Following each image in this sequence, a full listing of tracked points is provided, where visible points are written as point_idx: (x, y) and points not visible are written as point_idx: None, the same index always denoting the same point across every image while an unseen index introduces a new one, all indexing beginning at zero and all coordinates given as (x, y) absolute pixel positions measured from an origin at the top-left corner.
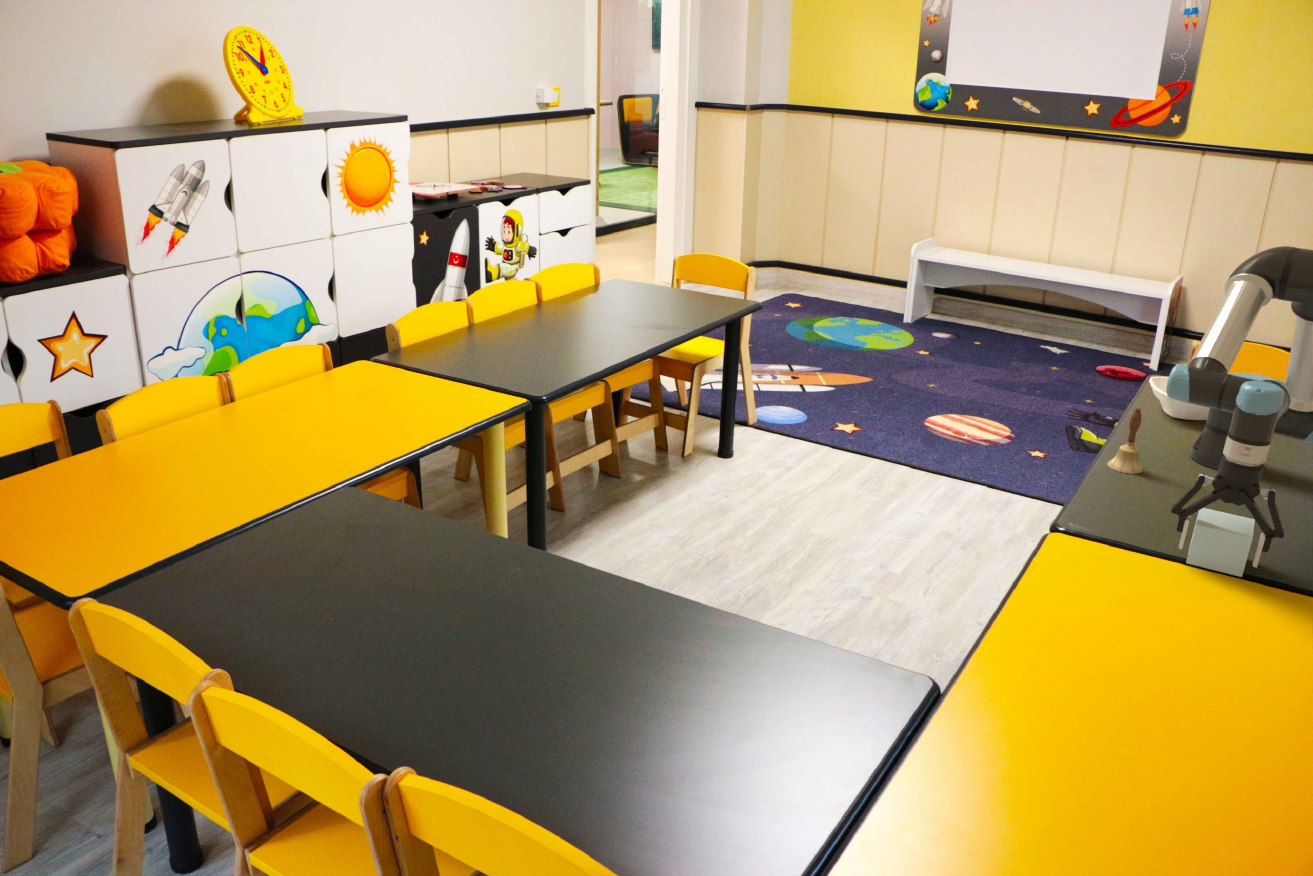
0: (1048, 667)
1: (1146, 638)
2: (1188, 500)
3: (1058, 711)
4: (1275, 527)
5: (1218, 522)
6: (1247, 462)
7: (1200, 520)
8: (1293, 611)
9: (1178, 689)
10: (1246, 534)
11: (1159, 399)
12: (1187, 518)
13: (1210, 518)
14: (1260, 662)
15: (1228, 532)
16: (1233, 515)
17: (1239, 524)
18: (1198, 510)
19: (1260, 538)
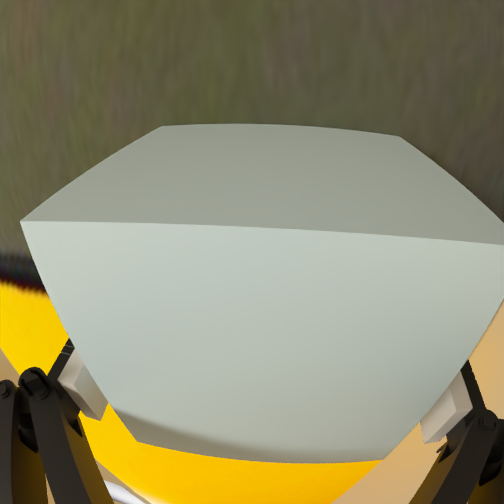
0: (155, 484)
1: (203, 473)
2: (45, 496)
3: (182, 499)
4: (474, 490)
5: (219, 417)
6: None
7: (130, 416)
8: None
9: (246, 495)
10: (363, 454)
11: None
12: (80, 404)
13: (160, 388)
14: (325, 476)
15: (279, 461)
16: (346, 261)
17: (360, 398)
18: (104, 483)
19: (426, 432)
